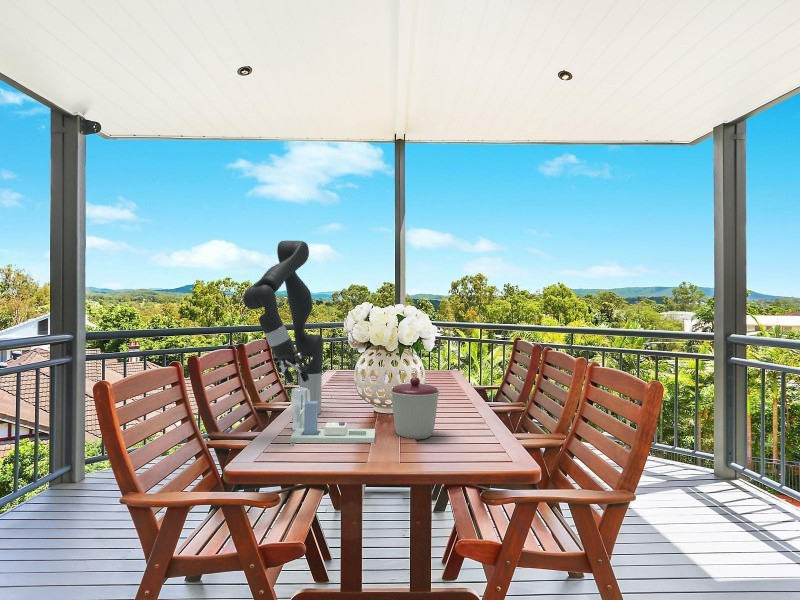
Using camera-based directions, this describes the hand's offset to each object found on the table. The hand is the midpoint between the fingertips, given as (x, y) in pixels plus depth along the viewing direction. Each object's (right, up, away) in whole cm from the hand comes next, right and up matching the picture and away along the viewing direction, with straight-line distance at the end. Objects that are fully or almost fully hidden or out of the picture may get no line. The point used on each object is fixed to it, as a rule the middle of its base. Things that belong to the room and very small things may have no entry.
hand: (298, 381), depth 186 cm
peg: (+5, -19, -4) cm, 20 cm away
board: (+13, -20, -4) cm, 24 cm away
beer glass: (-2, -20, +11) cm, 23 cm away
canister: (+41, -20, +3) cm, 46 cm away
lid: (+13, -17, -4) cm, 22 cm away
